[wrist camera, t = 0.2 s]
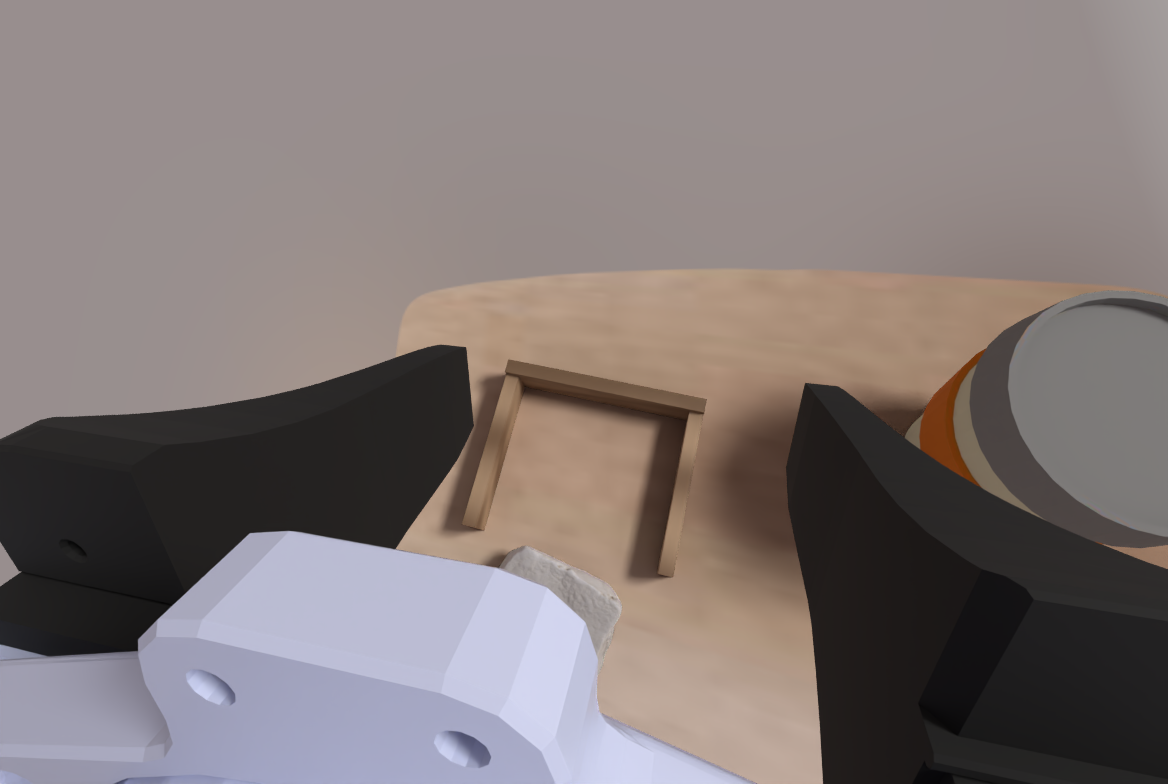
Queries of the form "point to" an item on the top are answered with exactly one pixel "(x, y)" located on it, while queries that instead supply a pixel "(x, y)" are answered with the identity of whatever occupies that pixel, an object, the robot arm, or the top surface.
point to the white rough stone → (572, 592)
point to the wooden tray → (597, 391)
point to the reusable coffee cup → (1067, 418)
